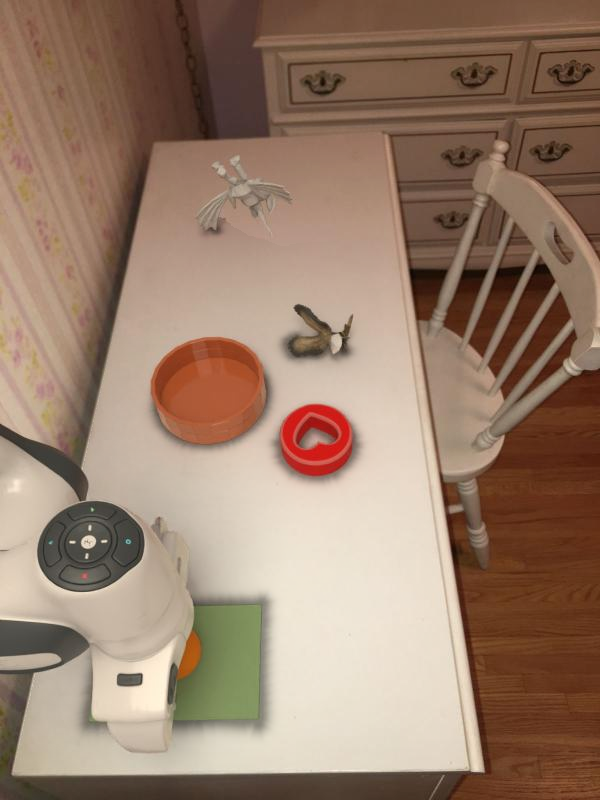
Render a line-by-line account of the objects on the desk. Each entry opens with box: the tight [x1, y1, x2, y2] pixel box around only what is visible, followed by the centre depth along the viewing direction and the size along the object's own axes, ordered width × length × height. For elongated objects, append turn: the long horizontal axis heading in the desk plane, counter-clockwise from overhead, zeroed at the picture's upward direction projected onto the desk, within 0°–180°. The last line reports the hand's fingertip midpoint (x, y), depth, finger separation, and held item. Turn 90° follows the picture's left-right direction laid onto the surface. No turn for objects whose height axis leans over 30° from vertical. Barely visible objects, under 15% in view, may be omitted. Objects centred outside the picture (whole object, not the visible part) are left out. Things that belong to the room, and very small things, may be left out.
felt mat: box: [88, 604, 263, 723], centre depth 71 cm, size 18×12×1 cm, turn 90°
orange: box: [177, 630, 201, 680], centre depth 69 cm, size 6×6×6 cm
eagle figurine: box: [286, 303, 354, 357], centre depth 95 cm, size 8×7×9 cm
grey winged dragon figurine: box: [194, 154, 295, 239], centre depth 109 cm, size 10×18×14 cm, turn 85°
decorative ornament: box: [279, 403, 354, 477], centre depth 86 cm, size 10×10×3 cm
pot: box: [150, 336, 267, 445], centre depth 91 cm, size 16×16×4 cm
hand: (173, 655), depth 69 cm, fingers open, 8 cm apart
